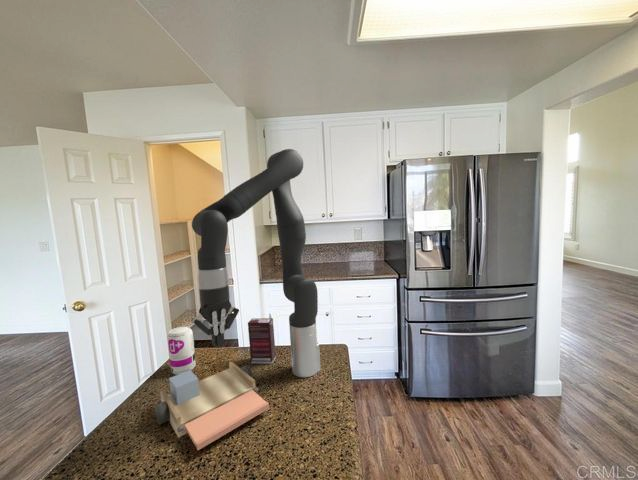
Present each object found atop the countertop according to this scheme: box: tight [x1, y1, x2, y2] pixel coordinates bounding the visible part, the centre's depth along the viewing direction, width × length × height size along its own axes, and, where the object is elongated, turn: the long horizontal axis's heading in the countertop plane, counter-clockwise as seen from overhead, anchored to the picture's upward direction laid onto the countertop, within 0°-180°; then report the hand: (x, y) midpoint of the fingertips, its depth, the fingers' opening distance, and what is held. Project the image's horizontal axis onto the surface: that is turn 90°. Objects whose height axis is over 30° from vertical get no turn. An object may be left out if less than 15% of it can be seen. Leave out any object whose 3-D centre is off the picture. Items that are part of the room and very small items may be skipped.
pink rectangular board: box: [185, 390, 270, 451], centre depth 72 cm, size 19×1×9 cm
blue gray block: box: [168, 370, 200, 405], centre depth 81 cm, size 6×7×5 cm
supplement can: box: [167, 325, 197, 376], centre depth 100 cm, size 8×8×15 cm
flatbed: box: [154, 361, 259, 438], centre depth 81 cm, size 27×18×5 cm, turn 133°
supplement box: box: [247, 317, 277, 365], centre depth 104 cm, size 9×5×16 cm, turn 82°
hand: (218, 346), depth 75 cm, fingers closed
